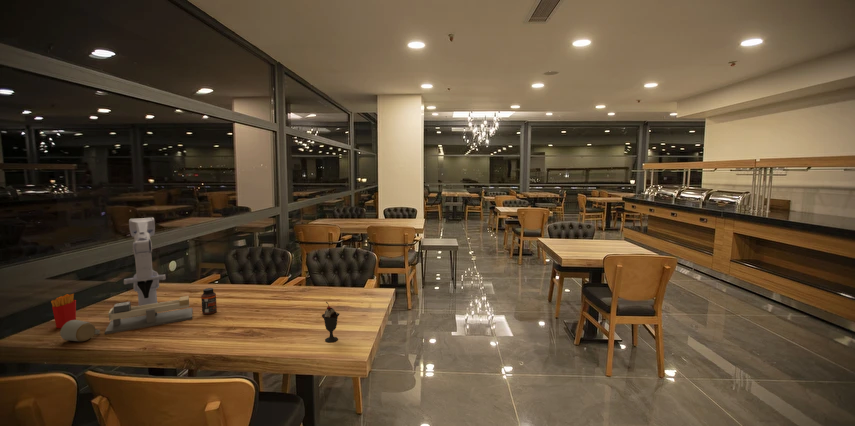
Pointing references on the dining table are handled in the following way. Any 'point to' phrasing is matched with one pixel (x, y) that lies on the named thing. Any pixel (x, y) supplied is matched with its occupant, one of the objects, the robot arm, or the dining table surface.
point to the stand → (148, 320)
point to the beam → (158, 307)
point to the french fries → (64, 309)
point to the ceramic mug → (78, 330)
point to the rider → (122, 307)
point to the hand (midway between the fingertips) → (146, 297)
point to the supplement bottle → (208, 301)
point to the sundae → (330, 322)
